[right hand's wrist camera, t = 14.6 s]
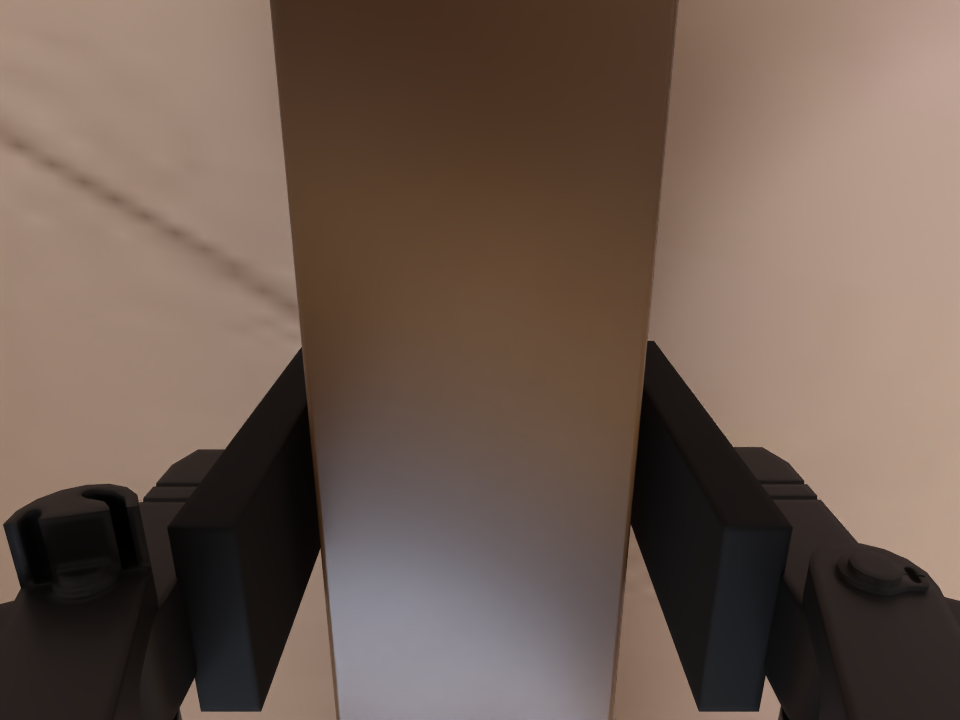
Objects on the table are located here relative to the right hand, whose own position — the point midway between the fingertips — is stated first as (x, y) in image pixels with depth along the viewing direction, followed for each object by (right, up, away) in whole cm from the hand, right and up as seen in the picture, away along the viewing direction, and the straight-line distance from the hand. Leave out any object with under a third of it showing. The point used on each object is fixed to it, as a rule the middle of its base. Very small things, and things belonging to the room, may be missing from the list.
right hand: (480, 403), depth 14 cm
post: (0, -20, +10) cm, 22 cm away
